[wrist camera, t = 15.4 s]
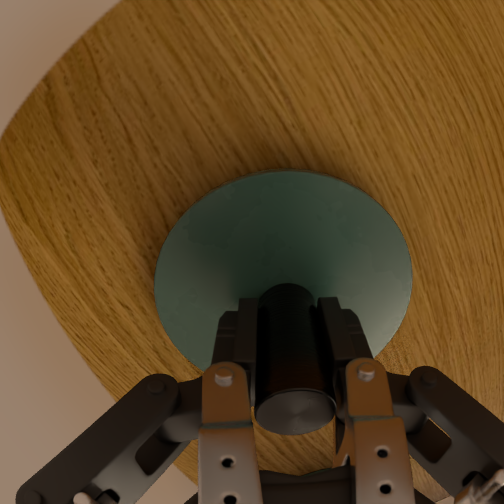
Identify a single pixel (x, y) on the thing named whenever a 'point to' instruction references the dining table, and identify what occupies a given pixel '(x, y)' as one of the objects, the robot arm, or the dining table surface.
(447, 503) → the grater
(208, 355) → the lid
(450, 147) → the dining table surface
